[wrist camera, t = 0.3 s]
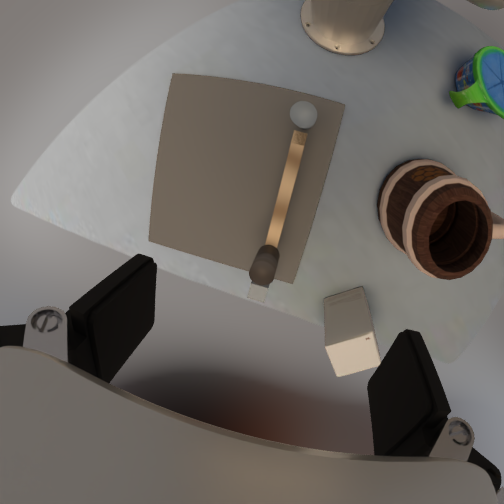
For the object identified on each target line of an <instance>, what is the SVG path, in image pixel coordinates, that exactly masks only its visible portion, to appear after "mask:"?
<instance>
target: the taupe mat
mask: <svg viewBox="0 0 504 504" xmlns="http://www.w3.org/2000/svg"><path fill="white" fill-rule="evenodd" d="M299 101H307V102H309V103H311V104H313V105H314V107H315V108H316V110H317V119H316V122H315V124H314V126H313V127H312V128H310V129H307V130H304V129H301V128H300V127H298V126H297V125H296V124H294V123H293V121H292V120H291V118H290V109H291V107H292V106H293V105H294V104H295V103H297V102H299ZM344 108H345V105H344V104H341V103H338V102H334V101H331V100H328V99H324V98H320V97H317V96H313V95H309V94H305V93H301V92H297V91H293V90H288V89H284V88H279V87H274V86H269V85H264V84H259V83H253V82H247V81H241V80H234V79H227V78H219V77H211V76H201V75H190V74H175V73H173V74H172V79H171V83H170V88H169V93H168V97H167V102H166V107H165V113H164V118H163V124H162V129H161V135H160V142H159V148H158V155H157V162H156V170H155V178H154V186H153V195H152V205H151V216H150V229H149V241H150V242H153V243H157V244H160V245H163V246H166V247H170V248H173V249H176V250H179V251H183V252H186V253H189V254H192V255H196V256H199V257H202V258H206V259H209V260H212V261H216V262H219V263H222V264H226V265H229V266H233V267H236V268H239V269H243V270H246V271H249V270H250V268H251V266H252V263H253V261H254V259H255V257H256V255H257V252H258V250H259V249H260V247H262V246H264V245H265V243H266V239H267V235H268V232H269V228H270V224H271V220H272V216H273V212H274V208H275V204H276V201H277V197H278V193H279V189H280V185H281V181H282V177H283V173H284V169H285V165H286V161H287V157H288V153H289V149H290V145H291V141H292V137H293V133H294V130H296V131H299V132H303V133H307V134H308V135H307V139H306V142H305V146H304V150H303V154H302V158H301V162H300V166H299V170H298V173H297V177H296V181H295V185H294V188H293V192H292V196H291V200H290V203H289V207H288V211H287V214H286V218H285V222H284V225H283V229H282V233H281V236H280V240H279V243H278V247H277V249H278V251H279V254H280V258H279V261H278V265H277V269H276V273H275V276H274V279H277V280H281V281H284V282H288V283H291V284H293V282H294V279H295V276H296V273H297V270H298V267H299V264H300V261H301V258H302V255H303V251H304V248H305V245H306V242H307V239H308V236H309V233H310V229H311V226H312V223H313V220H314V216H315V213H316V210H317V206H318V203H319V200H320V196H321V193H322V189H323V186H324V183H325V179H326V176H327V172H328V168H329V165H330V161H331V158H332V154H333V150H334V146H335V143H336V139H337V135H338V131H339V127H340V124H341V120H342V116H343V112H344Z"/></svg>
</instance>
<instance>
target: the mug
mask: <svg viewBox="0 0 504 504" xmlns="http://www.w3.org/2000/svg"><path fill="white" fill-rule="evenodd" d="M377 207H378V217H379V221H380V223H381V225H382V228H383V230H384V233H385V235H386V237H387V239H388V240H389V241H390V242H391V243H392V244H393V245H394V247H395V248H397V249H398V250H400V251H402V252H403V253H405V254H407V256H408V258H409V259H410V260H411V261H412V263H413V264H414V265H415V266H416V268H418V269H419V270H420V271H422V272H424V273H425V274H427V275H429V276H430V277H435V278H441V279H447V280H451V279H456V278H461V277H463V276H465V275H466V274H468V273H470V272H472V271H473V270H474V269H475V268H476V267H477V266H478V265H479V264H480V263H481V261H482V260H483V258H484V257H485V255H486V253H487V251H488V249H489V246H490V243H491V240H492V239H503V238H504V219H503V218H501V217H500V216H498V215H496V214H495V213H493V212H491V211H490V208H489V207H488V203H487V201H486V200H485V198H484V196H483V194H482V193H481V191H480V190H479V189H478V188H477V187H475V186H474V185H473V184H472V183H471V182H469V181H468V180H467V179H465V178H462V177H459V176H456V175H455V173H454V172H453V171H451V170H450V169H449V168H447V167H446V166H445V165H443V164H442V163H440V162H436V161H433V160H429V159H416V160H409V161H406V162H404V163H402V164H400V165H398V166H397V167H396V168H395V169H394V170H393V171H392V172H391V173H390V174H389V175H388V176H387V177H386V179H385V181H384V183H383V185H382V187H381V189H380V192H379V197H378V203H377Z"/></svg>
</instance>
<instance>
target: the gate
mask: <svg viewBox="0 0 504 504" xmlns="http://www.w3.org/2000/svg"><path fill="white" fill-rule="evenodd" d="M307 135H308V134H307V133H303V132H299V131H296V130H294V133H293V137H292V141H291V145H290V149H289V153H288V157H287V161H286V165H285V169H284V173H283V177H282V181H281V185H280V189H279V193H278V197H277V201H276V204H275V208H274V212H273V216H272V220H271V224H270V228H269V232H268V235H267V239H266V243H265V245H264V246H262V247H260V249H259V250H258V252H257V255H256V257H255V259H254V261H253V263H252V266H251V268H250V270H249V276H250V278H251V280H252V281H253V282H254V283H256V284H258V285H262V286H264V285H268V284H270V283H271V282H272V281H273V279H274V276H275V273H276V269H277V265H278V261H279V258H280V254H279V251H278V249H277V247H278V243H279V240H280V236H281V233H282V229H283V225H284V222H285V218H286V214H287V211H288V207H289V203H290V200H291V196H292V192H293V188H294V185H295V181H296V177H297V173H298V170H299V166H300V162H301V158H302V154H303V150H304V146H305V142H306V139H307Z"/></svg>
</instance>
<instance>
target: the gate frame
mask: <svg viewBox="0 0 504 504" xmlns="http://www.w3.org/2000/svg"><path fill="white" fill-rule="evenodd" d="M290 118H291V120H292V121H293V123H294V124H296V125H297V126H298V127H300V128H301V129H304V130H307V129H310V128H312V127H313V126H314V124H315V122H316V119H317V110H316V108H315V107H314V105H313V104H311V103H309V102H307V101H299V102H297V103H295V104H294V105H293V106H292V107H291V109H290ZM268 288H269V284H268V285H264V286H262V285H258V284H256V283H254V282H253V281H252V282H251V285H250V289H249V293H248V297H247V298H250V299H254V300H257V301H260V302H264V301H265V298H266V294H267V291H268Z"/></svg>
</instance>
